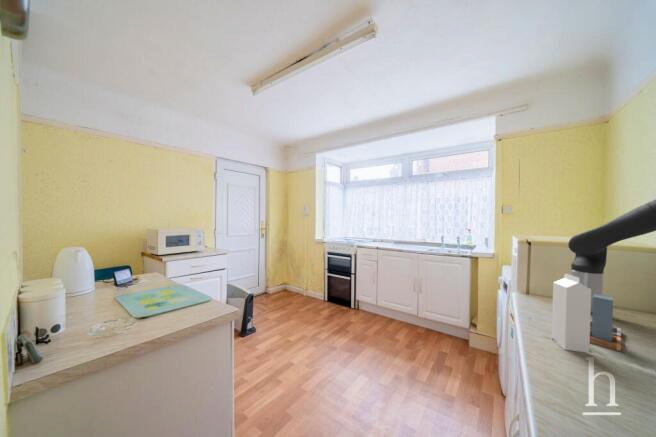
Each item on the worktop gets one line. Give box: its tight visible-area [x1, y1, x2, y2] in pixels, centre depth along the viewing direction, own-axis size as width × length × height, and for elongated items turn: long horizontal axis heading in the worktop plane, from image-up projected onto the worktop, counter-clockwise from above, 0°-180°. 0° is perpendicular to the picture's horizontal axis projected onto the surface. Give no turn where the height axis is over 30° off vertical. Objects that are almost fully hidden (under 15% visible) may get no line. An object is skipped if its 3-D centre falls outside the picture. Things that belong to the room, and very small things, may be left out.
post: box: [591, 294, 614, 343], centre depth 74 cm, size 4×4×14 cm
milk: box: [551, 273, 591, 353], centre depth 73 cm, size 6×6×22 cm
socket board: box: [589, 320, 626, 354], centre depth 77 cm, size 19×9×2 cm, turn 129°
